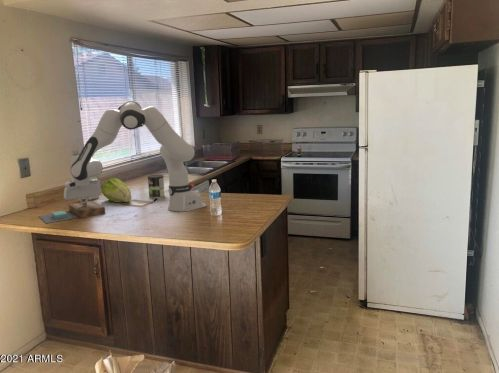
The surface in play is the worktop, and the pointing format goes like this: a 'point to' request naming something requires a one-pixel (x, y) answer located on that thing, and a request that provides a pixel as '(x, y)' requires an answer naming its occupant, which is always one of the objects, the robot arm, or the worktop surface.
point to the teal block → (59, 214)
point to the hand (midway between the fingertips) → (84, 205)
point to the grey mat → (51, 219)
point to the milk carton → (93, 196)
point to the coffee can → (156, 186)
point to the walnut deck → (87, 209)
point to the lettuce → (116, 190)
